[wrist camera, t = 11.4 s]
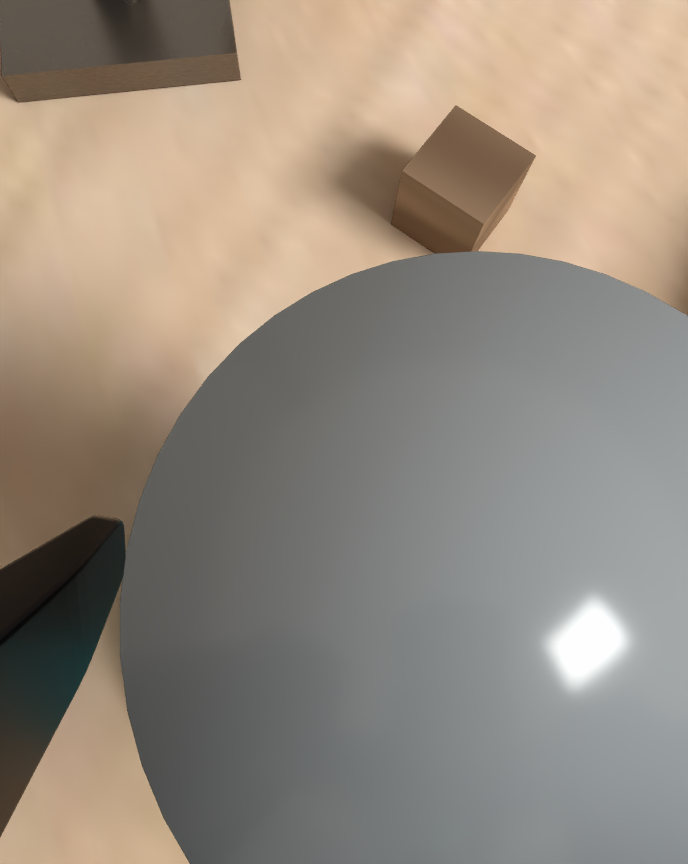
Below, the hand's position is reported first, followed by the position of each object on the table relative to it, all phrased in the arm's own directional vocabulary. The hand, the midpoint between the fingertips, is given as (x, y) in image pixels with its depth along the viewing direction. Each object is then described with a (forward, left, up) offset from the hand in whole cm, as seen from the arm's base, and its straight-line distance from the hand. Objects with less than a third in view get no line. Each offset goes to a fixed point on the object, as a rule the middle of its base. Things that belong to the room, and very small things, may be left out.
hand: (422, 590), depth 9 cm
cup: (0, 0, -9) cm, 9 cm away
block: (+12, +5, -10) cm, 17 cm away
